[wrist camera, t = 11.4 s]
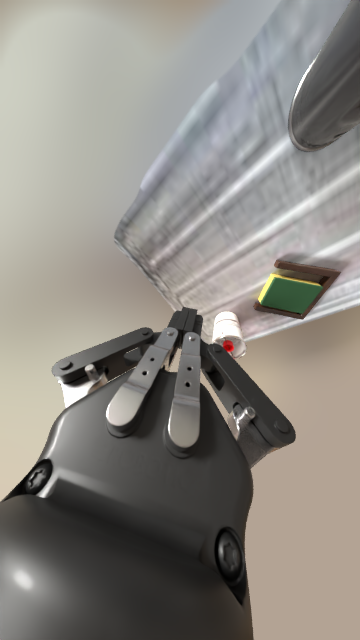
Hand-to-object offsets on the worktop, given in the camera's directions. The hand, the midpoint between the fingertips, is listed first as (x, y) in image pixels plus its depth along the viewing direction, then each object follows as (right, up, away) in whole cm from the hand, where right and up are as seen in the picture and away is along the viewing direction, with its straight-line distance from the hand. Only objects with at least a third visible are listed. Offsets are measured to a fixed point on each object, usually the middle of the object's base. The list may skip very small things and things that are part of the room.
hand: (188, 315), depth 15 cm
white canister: (+14, -1, +30) cm, 33 cm away
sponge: (+25, +7, +21) cm, 34 cm away
